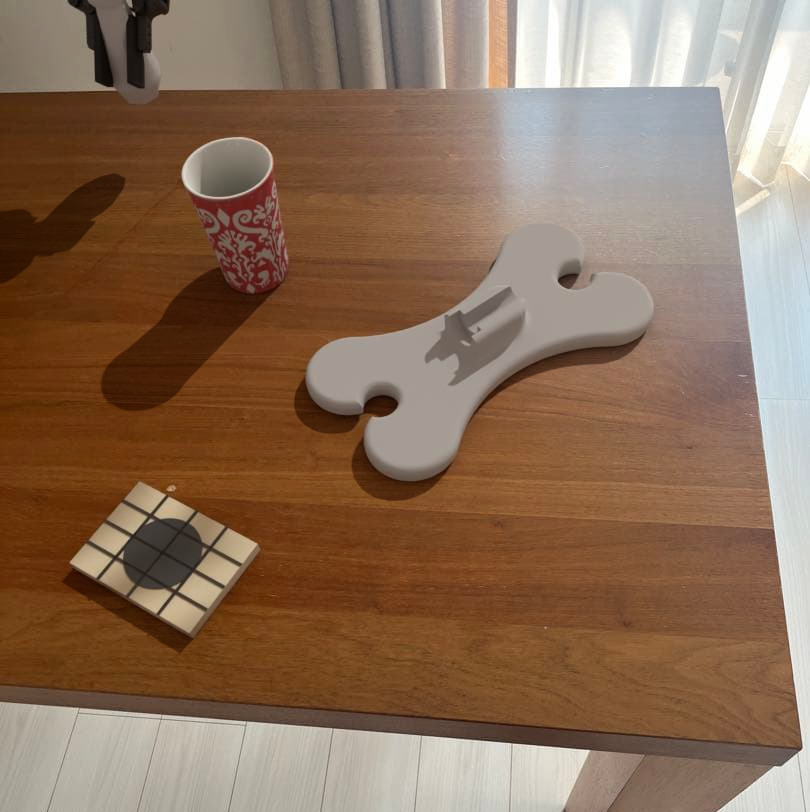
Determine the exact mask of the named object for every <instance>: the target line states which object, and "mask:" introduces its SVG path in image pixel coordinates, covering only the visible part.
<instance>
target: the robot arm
mask: <svg viewBox="0 0 810 812" xmlns="http://www.w3.org/2000/svg"><path fill="white" fill-rule="evenodd" d="M67 3H68V4H69V5H70V6H71V7H73V8H75V9H76V10H78V11H79V12H81V13H83V14H84V16H85V32H86V33H85V34H86V45H87V48H88V49H89V50H91V51H93V62H94V63H93V65H94V66H93V68H94V82H95V83H97V84H99V85H101V86H103V87H106V88H114V87H113V76H112V72H111V68H110V64H109V60H108V56H107V52H106V48H105V44H104V40H103V36H102V32H101V27H100V22H99V19H98V16H97V11H96V7H94V6H92V5H91V4H90V3H89V2H88V1H87V0H67ZM170 3H171V0H131V6H129V7H130V10H131V11H132V13H133V15H134V16H133V15H128V20H127V23H126V49H127V83H128V84H130V85H132V86H135V87H137V88H139V89H145V62H144V56H143V53H151V50H152V51H153V43H152V42H153V38H152V37H153V25H152V23H153V20H154V19H155V18H156V17H158V16H166V15H168V14H169V12H170V6H171V4H170Z"/></svg>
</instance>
